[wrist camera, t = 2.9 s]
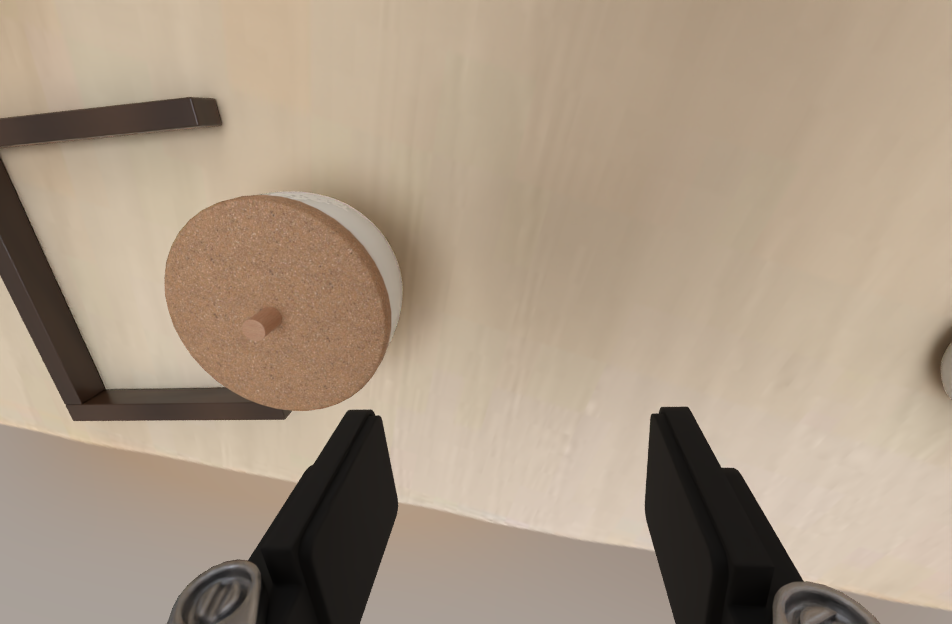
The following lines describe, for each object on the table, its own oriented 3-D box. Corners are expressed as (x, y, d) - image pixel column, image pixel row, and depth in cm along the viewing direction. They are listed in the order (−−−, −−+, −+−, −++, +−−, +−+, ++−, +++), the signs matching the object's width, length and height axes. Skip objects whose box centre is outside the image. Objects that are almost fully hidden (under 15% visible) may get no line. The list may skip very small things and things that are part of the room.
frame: (215, 98, 25) (190, 96, 24) (298, 403, 33) (285, 419, 31) (-35, 125, 28) (-75, 126, 26) (96, 405, 35) (72, 421, 33)
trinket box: (249, 161, 27) (114, 183, 18) (432, 193, 26) (383, 230, 17) (257, 328, 31) (151, 409, 22) (414, 357, 30) (367, 452, 22)
